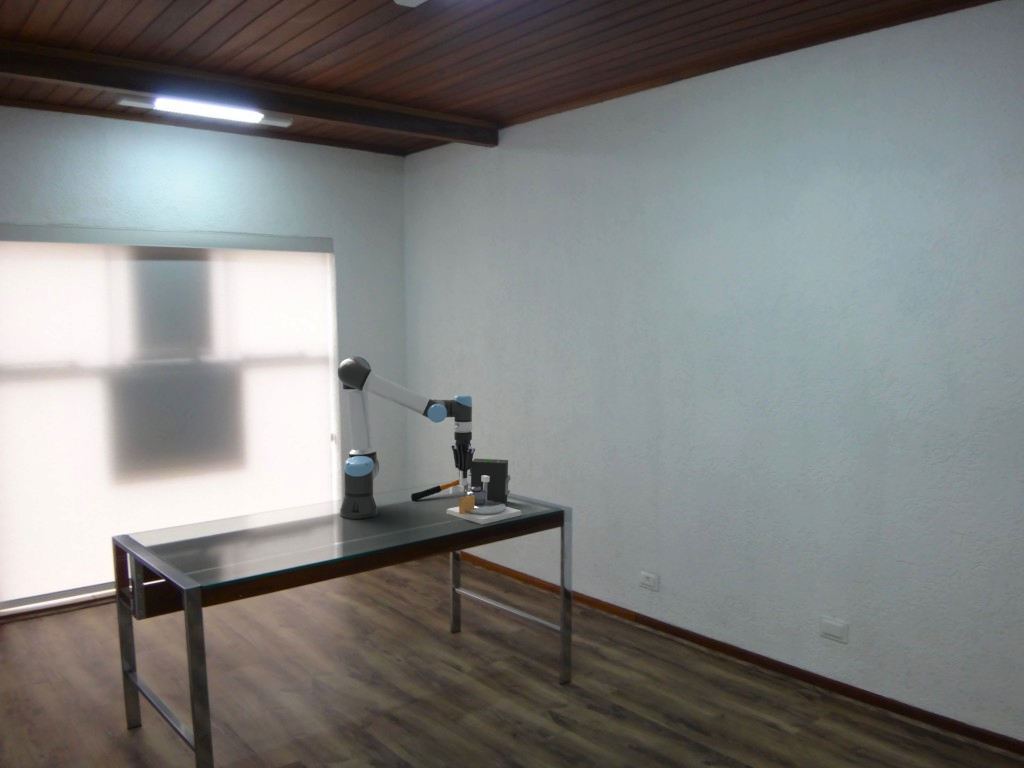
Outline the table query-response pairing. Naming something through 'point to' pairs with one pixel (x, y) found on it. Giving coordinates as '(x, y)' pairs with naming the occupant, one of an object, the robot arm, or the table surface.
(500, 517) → the turntable base
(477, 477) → the router
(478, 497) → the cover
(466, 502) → the turntable
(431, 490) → the hammer
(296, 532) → the table surface
